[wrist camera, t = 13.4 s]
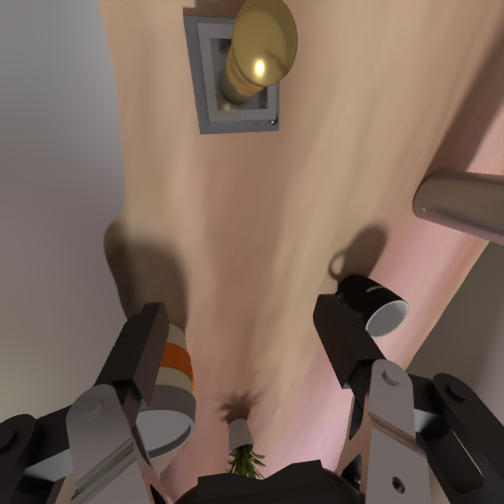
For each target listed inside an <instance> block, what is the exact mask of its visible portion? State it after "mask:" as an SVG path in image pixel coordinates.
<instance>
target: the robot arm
mask: <svg viewBox="0 0 504 504" xmlns="http://www.w3.org/2000/svg"><path fill="white" fill-rule="evenodd" d="M413 211H414V213H415V215H416V216H417V217H419V218H421V219H424V220H427V221H430V222H433V223H437V224H439V225H442V226H446V227H449V228H452V229H455V230H458V231H461V232H464V233H467V234H470V235H473V236H477V237H480V238H483V239H486V240H489V241H492V242H495V243H498V244H501V245H504V176H502V175H492V174H482V173H472V172H463V171H453V170H440V171H437V172H435V173H434V174H432V175H431V176H430V177H428V178H427V179H426V180H425V181H424V182H423V184H422V185H421V186H420V188H419V190H418V191H417V193H416V196H415V198H414V202H413ZM313 322H314V325H315V328H316V330H317V332H318V335H319V337H320V339H321V342H322V344H323V346H324V348H325V351H326V353H327V355H328V358H329V360H330V362H331V365H332V367H333V369H334V372H335V374H336V376H337V379H338V381H339V383H340V385H341V388H342V389H349V388H351V390H352V392H353V394H354V395H353V398H352V403H351V409H350V415H349V421H348V427H347V433H346V439H345V444H344V447H343V450H342V452H341V455H340V459H339V463H338V469H337V474H336V473H334V472H333V471H330V470H328V469H325V468H322V464H321V460H314V461H307V462H300V463H293V464H290V465H288V466H287V467H285V468H283V469H281V470H280V471H278V472H276V473H274V474H273V475H271V476H269V477H267V478H266V479H263V480H259V479H255V478H251V477H247V476H242V475H238V474H234V473H222V474H215V475H208V476H201V477H198V485H197V486H195V487H193V488H191V489H190V490H189V491H187V492H186V493H185V494H183V495H182V496H181V497H180V498H179V499H178V500H177V501H176V502H175V503H174V504H431V494H430V483H429V472H428V463H429V465H430V467H431V469H432V471H433V473H434V474H435V476H436V478H437V480H438V482H439V483H440V485H441V487H442V489H443V491H444V493H445V494H446V496H447V498H448V500H449V502H450V504H504V426H503V425H502V424H501V423H500V422H499V420H498V419H497V418H496V417H495V416H494V415H493V413H492V412H491V411H490V410H489V409H488V408H487V407H486V405H485V404H484V403H483V402H482V401H481V400H480V399H479V397H478V396H477V395H476V394H475V393H474V392H473V390H472V389H471V388H469V386H467V385H466V384H465V383H463V382H462V381H461V380H459V379H458V378H456V377H454V376H452V375H449V374H445V373H439V374H436V375H435V376H434V377H433V378H432V379H428V378H424V377H420V376H415V375H411V374H408V373H406V372H405V371H404V370H403V369H402V368H401V367H400V366H398V365H397V364H395V363H394V362H391V361H389V360H387V359H386V358H385V357H384V355H383V354H382V352H381V351H380V349H379V348H378V346H377V345H376V343H375V342H374V340H373V339H372V337H371V336H370V334H369V333H368V331H367V330H366V329H365V328H364V325H363V324H362V322H361V321H359V318H358V317H357V315H356V314H355V312H354V311H353V310H352V309H351V308H350V307H349V306H347V305H346V304H345V303H340V301H339V300H338V298H337V297H336V295H335V294H320V295H319V296H318V298H317V302H316V305H315V309H314V312H313ZM168 334H169V320H168V317H167V313H166V309H165V305H164V303H163V302H153V303H146V304H145V305H144V307H143V309H142V312H141V314H136V315H133V316H132V317H131V318H130V319H129V320H128V321H127V322H126V323H125V324H124V326H123V328H122V330H121V332H120V335H119V337H118V339H117V340H116V343H115V346H114V347H113V348H112V350H111V352H110V354H109V356H108V358H107V360H106V362H105V364H104V367H103V368H102V370H101V372H100V374H99V376H98V378H97V380H96V382H95V384H94V385H93V387H92V388H90V389H88V390H87V391H85V392H84V393H83V394H81V395H80V396H79V397H78V398H77V399H76V401H75V402H74V403H73V404H72V405H70V406H68V407H65V408H63V409H60V410H58V411H56V412H53V413H50V414H48V415H46V416H43V417H40V418H38V419H35V418H34V417H33V416H31V415H29V414H21V415H17V416H14V417H11V418H9V419H7V420H5V421H4V422H2V423H0V504H55V502H56V499H57V497H58V494H59V492H60V490H61V487H62V485H63V482H64V480H65V477H66V475H68V474H70V473H72V472H74V478H75V485H76V491H75V494H74V495H73V497H72V499H71V504H169V503H168V500H167V498H166V495H165V492H164V490H163V487H162V485H161V483H160V480H159V478H158V476H157V474H156V472H155V470H154V468H153V465H152V463H151V460H150V458H149V455H148V452H147V450H146V447H145V444H144V442H143V439H142V437H141V434H140V431H139V429H138V426H137V423H136V419H137V416H138V413H139V409H148V408H149V405H150V401H151V398H152V394H153V390H154V386H155V383H156V379H157V375H158V372H159V368H160V364H161V360H162V357H163V353H164V349H165V346H166V342H167V338H168ZM452 431H454V432H455V434H456V435H457V437H458V438H459V440H460V441H461V443H462V444H463V446H464V447H465V448H466V450H467V451H468V453H469V454H470V456H471V457H472V459H473V460H474V462H475V463H476V464H477V466H478V467H479V469H480V471H481V473H482V475H483V476H482V475H481V473H480V472H479V471H478V469H477V467H476V466H475V465H474V463H473V462H472V461H471V459H470V457H469V456H468V454H467V453H466V451H465V450H464V448H463V447H462V445H461V444H460V443H459V441H458V440H457V438H456V437H455V435H454V434H453V432H452ZM417 443H418V444H417Z"/></svg>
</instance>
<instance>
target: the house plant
mask: <svg viewBox="0 0 504 504" xmlns="http://www.w3.org/2000/svg"><path fill="white" fill-rule="evenodd" d="M254 447H255V445H254V442H253V439H252V436H251V433H250V430H249V427H248V425H247V422H246V420H245V419H243V418H241V419H236V420H234V421H232V422H231V423H230V424H229V456H230V457H231V458H234V461H228V460H227V461H228V463H229V464H233V465H232V468H227V467H226V469H225V470H226V472H228V471H230V473H232V470H233V467H234V466H235V465H236V467H235V471H234V474H238V475H242V476H247V473H248V476H249V477H251V478H255V474H256V475H257V476H258V478H259V479H261V478H260V477H259V475H260V476H261V477H263V476H262V475H261V474H260V473H259V472H258V471H257V469H256V468H255V467H254V466H253V464H252V463H251V461H253V462H254V463H256V464H258V465H260V466H266V465H264V464H262V463H261V462H260V461H258V460H257V459H255V458H254V456H256V457H257V458H260V459H262V458H264V457H265V456H266V455H267V454H266V455H265V456H261V455H257V454H255V453H253V452H252V450H253V449H254ZM250 452H252V454H253V455H254V456H252V455H251V454H250ZM225 466H226V465H225ZM253 467H254V468H255V470H256V471H257V472H258V474H259V475H258V474H257V473H256V472H255V471H254V468H253ZM237 472H238V473H237ZM263 478H264V477H263ZM255 479H256V478H255ZM264 479H266V478H264Z"/></svg>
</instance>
